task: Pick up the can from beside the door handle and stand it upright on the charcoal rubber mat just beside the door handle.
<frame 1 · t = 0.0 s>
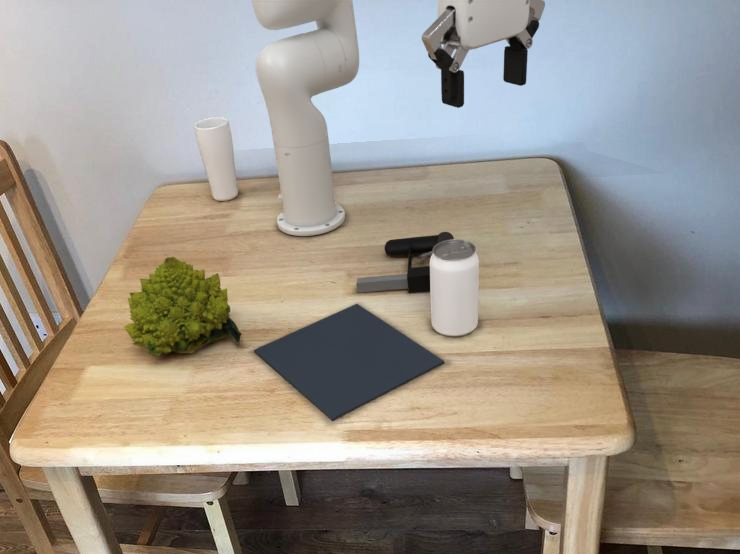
hand: (484, 93, 90), 31 cm above the table, tool pointing down, fingers open, 9 cm apart
mat: (346, 357, 104), on the table
vegetable: (186, 340, 113), on the table
can: (454, 326, 108), on the table
drinking glass: (226, 197, 154), on the table
door handle: (410, 278, 120), on the table
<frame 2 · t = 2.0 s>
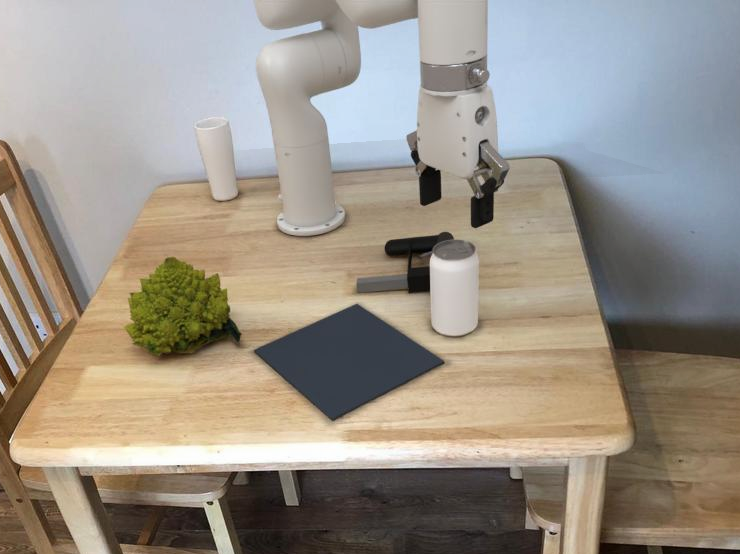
hand: (455, 213, 97), 17 cm above the table, tool pointing down, fingers open, 9 cm apart
nothing on the table moved.
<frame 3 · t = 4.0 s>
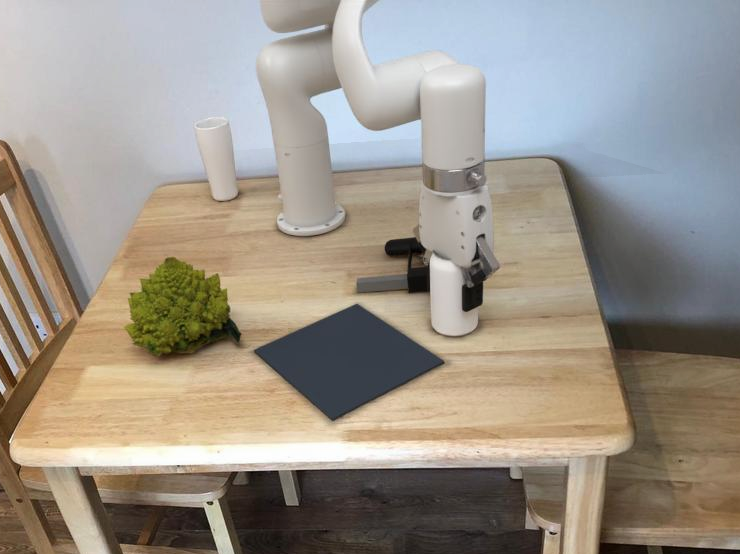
hand: (454, 296, 105), 5 cm above the table, tool pointing down, fingers closed on can, 6 cm apart
can: (454, 326, 108), on the table, touching gripper
everything else where it was.
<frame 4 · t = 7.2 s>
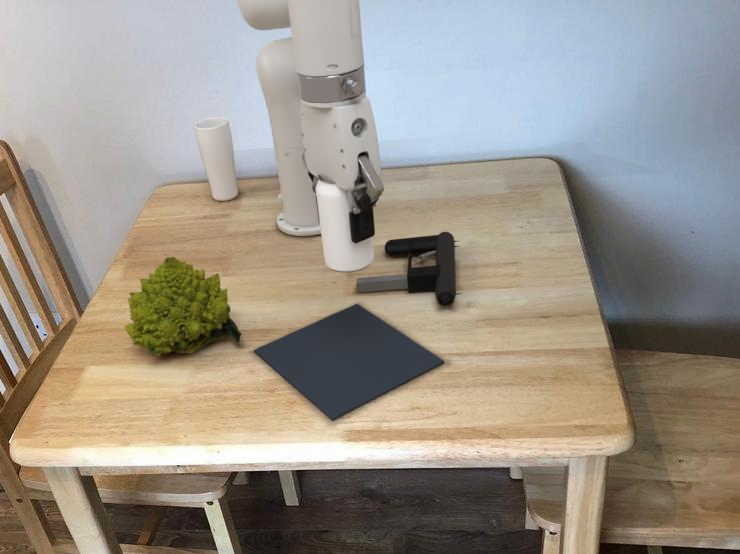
hand: (346, 228, 96), 18 cm above the table, tool pointing down, fingers closed on can, 6 cm apart
can: (349, 263, 99), point 13 cm above the table, touching gripper
everything else where it was.
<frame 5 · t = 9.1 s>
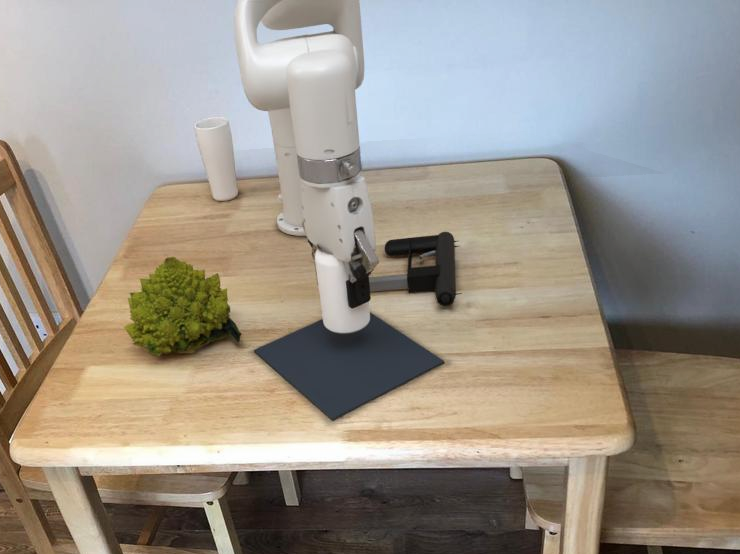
hand: (343, 292, 101), 9 cm above the table, tool pointing down, fingers closed on can, 6 cm apart
can: (347, 323, 104), point 4 cm above the table, touching gripper
everything else where it was.
when the fingers open (5 cm above the table, at t = 10.5 s): can stays where it is, resting on mat.
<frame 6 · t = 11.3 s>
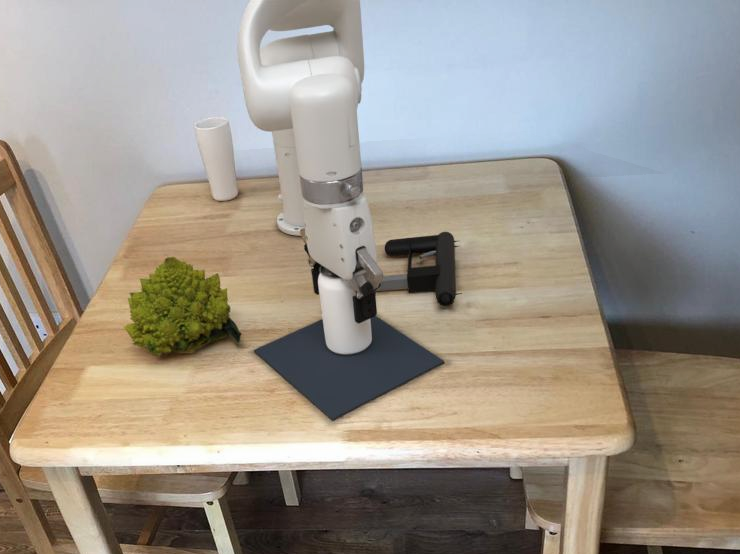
hand: (344, 304, 102), 7 cm above the table, tool pointing down, fingers open, 9 cm apart
can: (349, 344, 106), resting on mat
everything else where it was.
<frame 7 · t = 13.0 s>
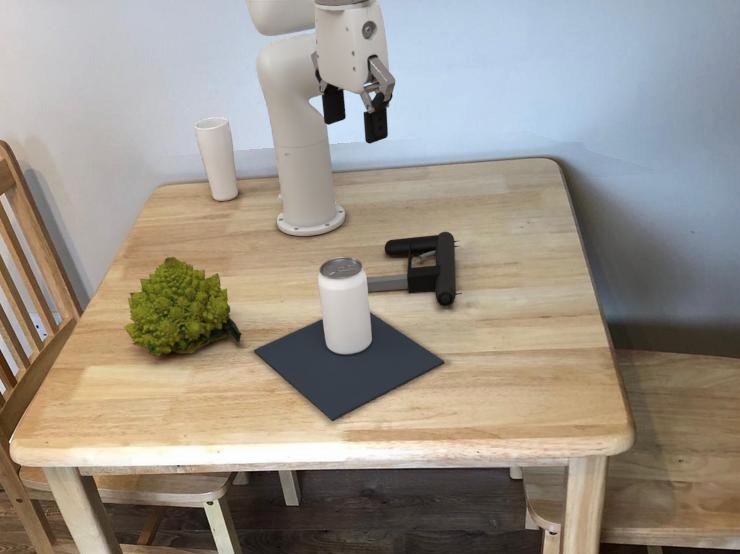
hand: (355, 130, 101), 26 cm above the table, tool pointing down, fingers open, 9 cm apart
nothing on the table moved.
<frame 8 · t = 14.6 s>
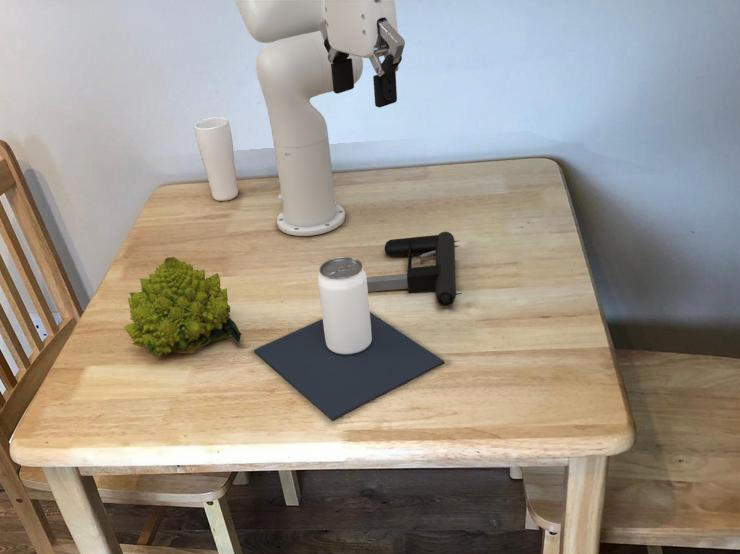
hand: (364, 97, 103), 28 cm above the table, tool pointing down, fingers open, 9 cm apart
nothing on the table moved.
at the end: can inside the target area on the table beside the door handle (0.5 cm from its centre), resting on mat; can inside the target area on the mat (2.9 cm from its centre), point 0.2 cm above the mat's base; can tilted 0° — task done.
